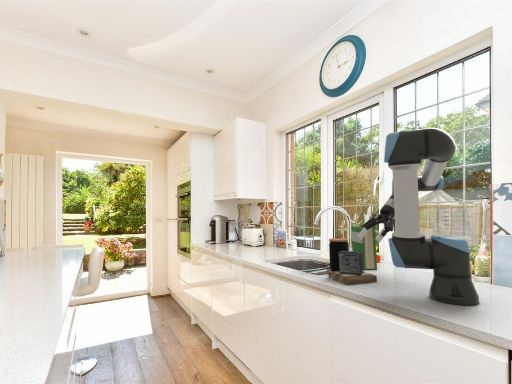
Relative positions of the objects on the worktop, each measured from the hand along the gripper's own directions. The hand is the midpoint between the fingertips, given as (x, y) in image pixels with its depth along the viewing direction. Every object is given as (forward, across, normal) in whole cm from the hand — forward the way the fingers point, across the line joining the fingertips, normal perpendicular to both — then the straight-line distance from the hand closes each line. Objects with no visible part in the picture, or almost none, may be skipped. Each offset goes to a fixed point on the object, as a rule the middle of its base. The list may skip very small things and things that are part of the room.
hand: (367, 239), depth 141 cm
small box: (+19, 0, -4) cm, 19 cm away
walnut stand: (+21, 0, -6) cm, 22 cm away
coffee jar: (+17, +19, -10) cm, 28 cm away
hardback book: (+3, +24, -25) cm, 34 cm away
